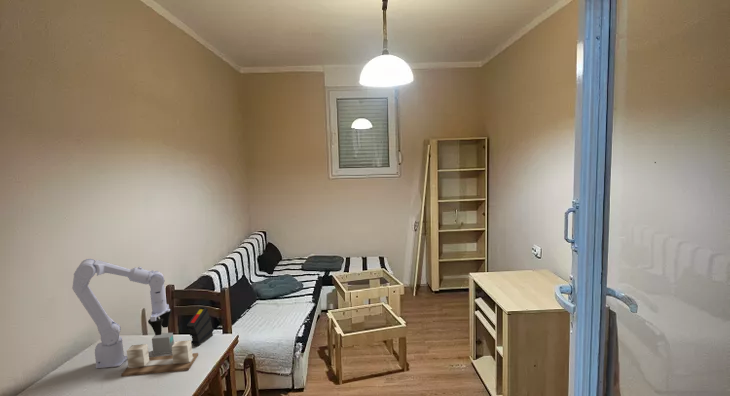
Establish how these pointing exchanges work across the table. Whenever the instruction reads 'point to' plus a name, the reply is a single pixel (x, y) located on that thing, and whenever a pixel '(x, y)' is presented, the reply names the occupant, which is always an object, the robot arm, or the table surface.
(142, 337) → the table surface
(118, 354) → the robot arm
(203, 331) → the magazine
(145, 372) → the board
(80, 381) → the table surface
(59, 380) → the table surface
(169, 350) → the block
